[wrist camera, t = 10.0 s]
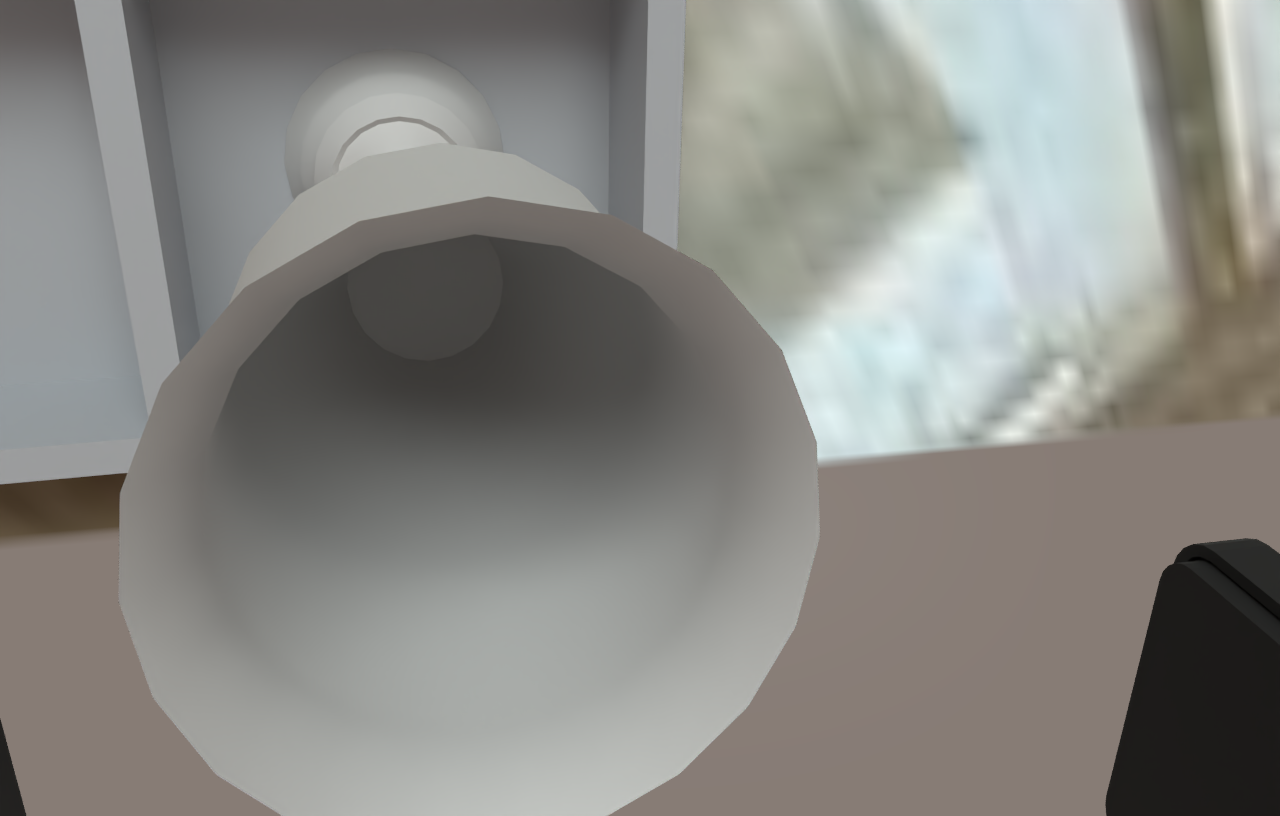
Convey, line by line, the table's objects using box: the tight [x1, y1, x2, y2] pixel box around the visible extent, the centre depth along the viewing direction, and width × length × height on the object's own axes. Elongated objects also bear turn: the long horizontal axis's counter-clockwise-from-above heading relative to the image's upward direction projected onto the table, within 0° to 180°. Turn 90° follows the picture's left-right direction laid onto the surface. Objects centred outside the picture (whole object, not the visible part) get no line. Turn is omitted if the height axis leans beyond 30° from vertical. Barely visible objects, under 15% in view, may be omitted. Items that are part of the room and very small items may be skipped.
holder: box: [0, 0, 686, 484], centre depth 25 cm, size 22×12×4 cm, turn 89°
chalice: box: [119, 48, 820, 816], centre depth 19 cm, size 7×7×18 cm
